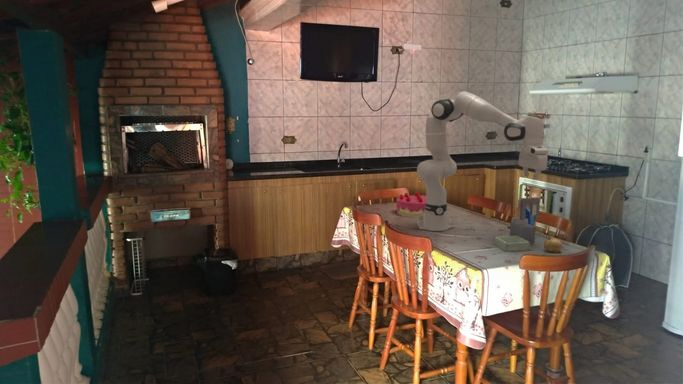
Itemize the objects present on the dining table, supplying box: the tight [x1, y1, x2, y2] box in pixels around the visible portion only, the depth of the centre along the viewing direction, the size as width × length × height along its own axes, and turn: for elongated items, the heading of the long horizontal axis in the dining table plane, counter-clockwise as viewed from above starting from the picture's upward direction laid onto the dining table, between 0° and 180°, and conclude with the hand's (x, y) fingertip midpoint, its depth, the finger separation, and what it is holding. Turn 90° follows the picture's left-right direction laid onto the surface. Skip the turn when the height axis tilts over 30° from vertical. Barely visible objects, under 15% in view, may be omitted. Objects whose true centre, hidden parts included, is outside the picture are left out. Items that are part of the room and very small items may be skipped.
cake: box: [396, 191, 426, 219], centre depth 324 cm, size 28×28×12 cm
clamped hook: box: [516, 199, 537, 219], centre depth 252 cm, size 14×2×13 cm, turn 9°
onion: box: [543, 236, 563, 254], centre depth 240 cm, size 8×8×7 cm
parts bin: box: [493, 235, 531, 253], centre depth 247 cm, size 13×12×4 cm
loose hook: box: [520, 197, 541, 221], centre depth 248 cm, size 2×9×10 cm, turn 99°
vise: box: [507, 216, 536, 246], centre depth 257 cm, size 14×8×11 cm, turn 9°
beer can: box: [525, 207, 536, 228], centre depth 267 cm, size 8×8×16 cm
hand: (531, 177), depth 245 cm, fingers open, 8 cm apart
